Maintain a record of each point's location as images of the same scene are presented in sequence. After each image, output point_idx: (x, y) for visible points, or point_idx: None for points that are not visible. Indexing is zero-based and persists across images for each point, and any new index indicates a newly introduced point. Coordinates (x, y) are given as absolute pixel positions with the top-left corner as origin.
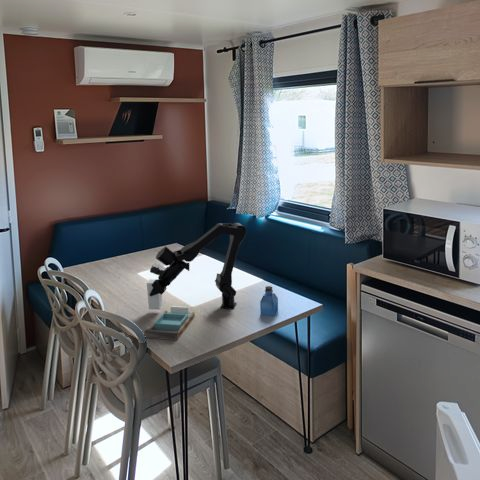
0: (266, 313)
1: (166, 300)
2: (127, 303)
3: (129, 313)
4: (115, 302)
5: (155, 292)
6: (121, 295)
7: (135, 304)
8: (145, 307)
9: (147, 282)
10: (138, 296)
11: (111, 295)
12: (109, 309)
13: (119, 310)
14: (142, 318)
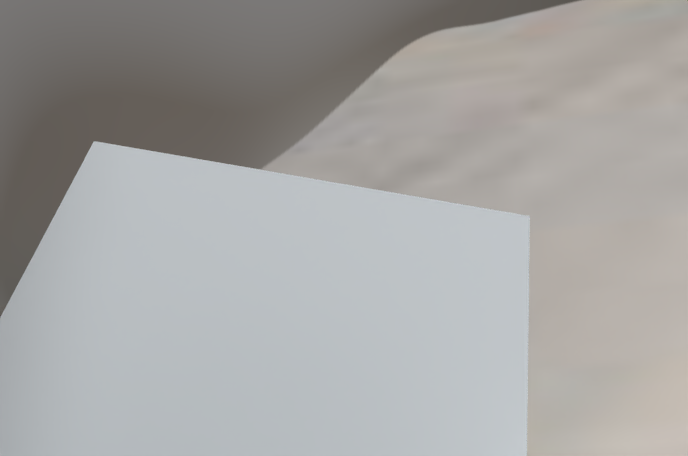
0: None
1: (623, 430)
2: (530, 118)
3: (346, 154)
4: (545, 50)
5: None
6: (678, 63)
7: (513, 171)
8: None
9: (150, 162)
10: (680, 171)
11: (666, 12)
12: (428, 38)
13: (406, 90)
14: None
